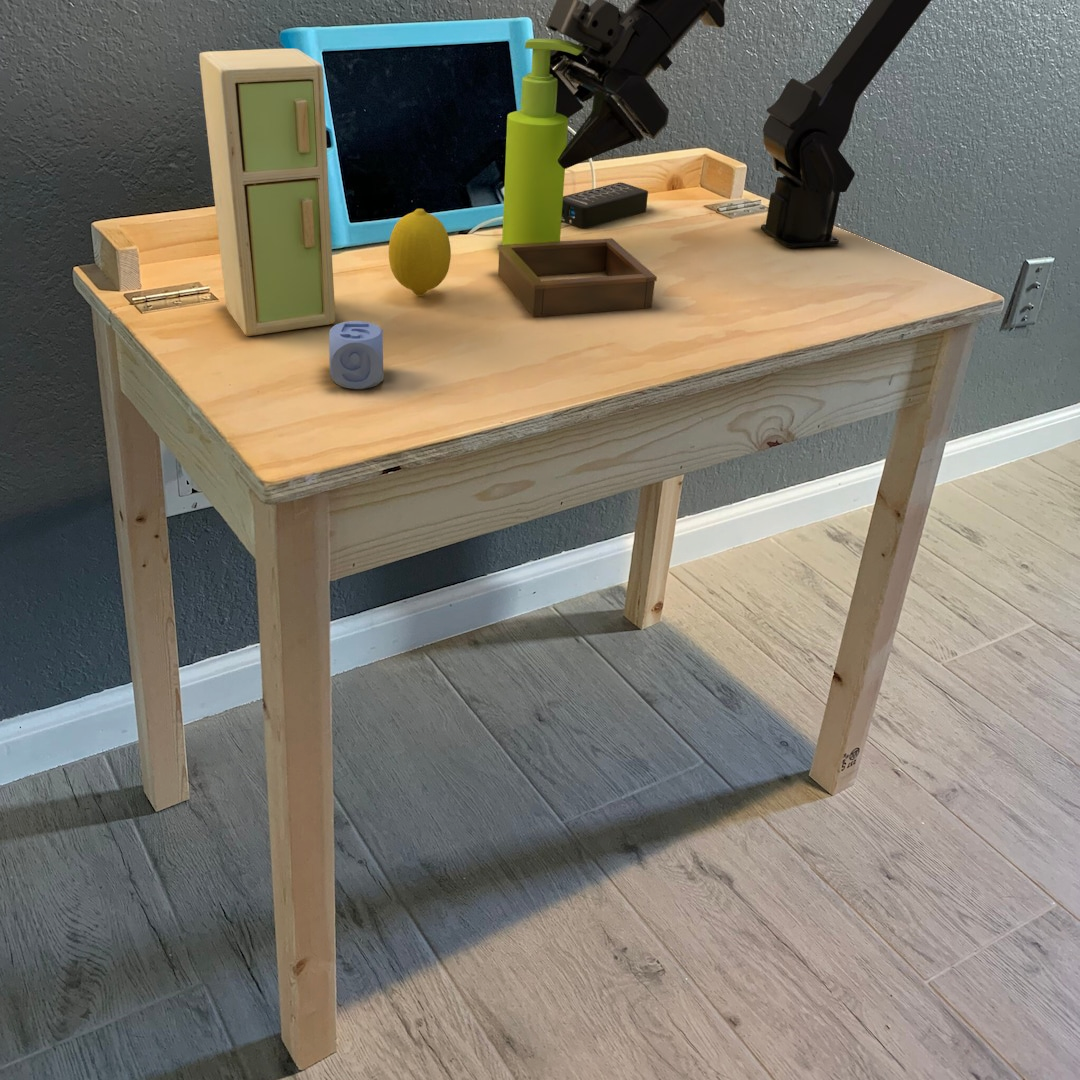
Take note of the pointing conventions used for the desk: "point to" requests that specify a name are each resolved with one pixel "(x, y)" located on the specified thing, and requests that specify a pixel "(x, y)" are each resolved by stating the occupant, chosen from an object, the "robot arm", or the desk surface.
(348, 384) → the decorative dice
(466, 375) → the desk surface
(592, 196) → the multiport hub
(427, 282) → the lemon
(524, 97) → the soap dispenser
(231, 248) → the toy refrigerator
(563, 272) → the brown wooden tray
